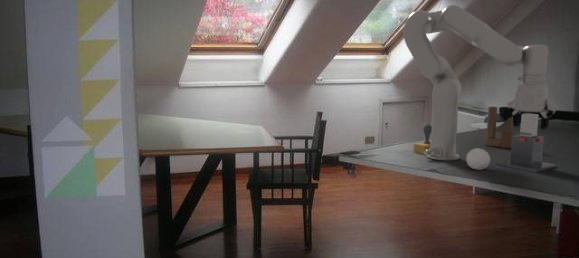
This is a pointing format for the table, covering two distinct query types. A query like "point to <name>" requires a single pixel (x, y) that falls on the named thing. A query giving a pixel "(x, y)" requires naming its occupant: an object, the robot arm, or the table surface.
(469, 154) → the geometric ball
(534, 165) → the stand base
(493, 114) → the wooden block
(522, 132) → the column
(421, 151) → the rubber stamp
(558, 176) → the table surface
